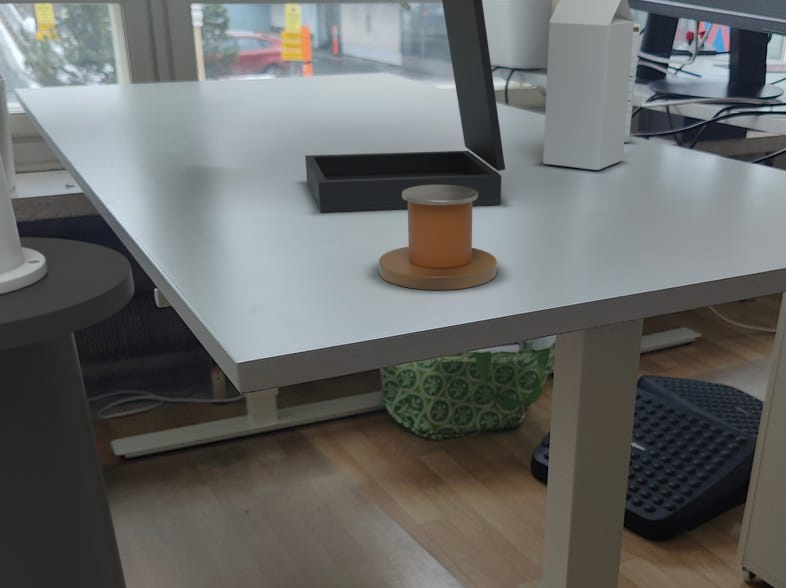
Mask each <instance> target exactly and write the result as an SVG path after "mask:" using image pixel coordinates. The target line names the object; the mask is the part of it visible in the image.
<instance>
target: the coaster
mask: <svg viewBox="0 0 786 588" xmlns="http://www.w3.org/2000/svg"><path fill="white" fill-rule="evenodd" d="M497 263H498V261H497V259H496V257H495V256H494V255H493V254H492V253H489V252H487V251H485V250H483V249H479V248H475V247H472V260H471V262H470V263H468V264H466V265H463V266H459V267H454V268H428V267H422V266H418V265H415V264H413V263H411V262H410V260H409V246H404V247H400V248H396V249H393V250H390V251H388V252H387V251H386V252H385V253H383V254H382V255H381V256H380V257H379V260H378V271H379V276H380V277H381V278H382V279H383V280H384V281H386V282H388V283H390V284H393V285H397V286H399V287H403V288H409V289H416V290H424V291H425V290H426V291H449V290H450V291H452V290H462V289H468V288H473V287H477V286H481V285H484V284H487V283H488V282H490V281H492V280H493V279H494V278H495V277H496V276H497V265H498V264H497Z"/></svg>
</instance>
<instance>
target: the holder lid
mask: <svg viewBox="0 0 786 588" xmlns="http://www.w3.org/2000/svg"><path fill="white" fill-rule="evenodd" d="M441 3H442V8H443V10H442V11H443V15H444V21H445V28H446V34H447V40H448V47H449V54H450V61H451V66H452V72H453V79H454V86H455V91H456V92H455V93H456V96H457V97H456V98H457V103H458V111H459V116H460V124H461V130H462V136H463V142H464V147H465V148H466V149H468V151H469V152H471V153H472V154H473V155H475V156H476V157H477V158H479V159H480V160H481V161H483V162H484V163H485V164H487V165H488V166H489V167H491V168H492V169H493V170H495V171H496V172H501V171H505V170H506V164H505V157H504V150H503V149H504V148H503V142H502V136H501V135H502V134H501V128H500V127H501V126H500V121H499V120H500V119H499V114H498V113H499V112H498V105H497V99H496V92H495V83H494V77H493V69H492V62H491V61H492V60H491V55H490V47H489V42H488V41H489V40H488V34H487V33H488V32H487V26H486V19H485V11H484V3H483V0H441Z"/></svg>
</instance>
